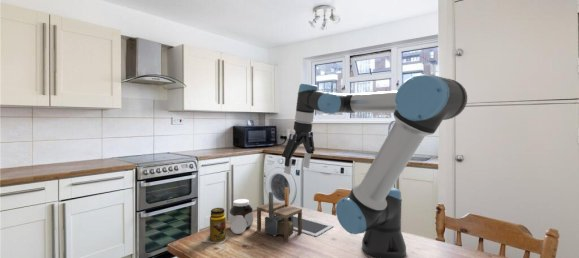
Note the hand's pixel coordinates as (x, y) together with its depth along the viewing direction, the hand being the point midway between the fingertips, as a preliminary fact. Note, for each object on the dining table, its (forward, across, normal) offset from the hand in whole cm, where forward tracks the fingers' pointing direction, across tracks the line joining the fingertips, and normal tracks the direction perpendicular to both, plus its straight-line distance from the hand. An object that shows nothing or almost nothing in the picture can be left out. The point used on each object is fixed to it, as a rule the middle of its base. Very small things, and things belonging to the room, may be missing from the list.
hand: (296, 170), depth 117 cm
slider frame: (+26, +8, +1) cm, 27 cm away
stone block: (+26, +8, +1) cm, 27 cm away
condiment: (+28, +28, -15) cm, 43 cm away
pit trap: (+26, -5, +3) cm, 27 cm away
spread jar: (+29, +15, -14) cm, 36 cm away
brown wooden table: (+26, +8, +1) cm, 27 cm away
